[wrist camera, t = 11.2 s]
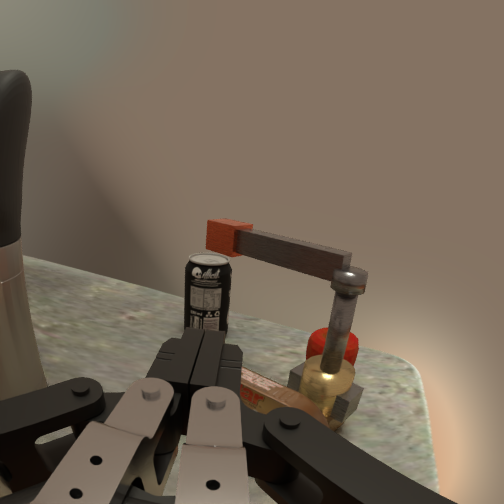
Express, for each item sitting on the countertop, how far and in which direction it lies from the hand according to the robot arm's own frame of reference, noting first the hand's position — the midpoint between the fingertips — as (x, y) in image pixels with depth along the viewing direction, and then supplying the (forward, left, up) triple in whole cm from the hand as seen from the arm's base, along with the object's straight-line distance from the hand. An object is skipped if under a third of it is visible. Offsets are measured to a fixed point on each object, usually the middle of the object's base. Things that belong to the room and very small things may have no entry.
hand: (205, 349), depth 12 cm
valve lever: (+4, +18, -2) cm, 19 cm away
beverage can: (-4, +32, -17) cm, 36 cm away
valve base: (+10, +14, -17) cm, 24 cm away
